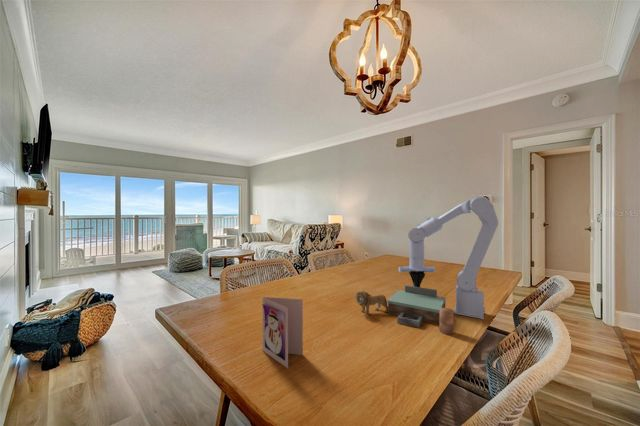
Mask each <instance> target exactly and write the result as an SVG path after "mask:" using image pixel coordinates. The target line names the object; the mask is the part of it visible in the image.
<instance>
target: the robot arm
mask: <svg viewBox="0 0 640 426" xmlns="http://www.w3.org/2000/svg"><path fill="white" fill-rule="evenodd" d="M471 212H473V213H474V214H475V215H476V216H477V217H478V219H479V221H481V227H480V229H479V231H478V234H477V236H476V237H475V241H474V244H473V245H472V248H471V251H470V253H469V256H468V257H467V260H466V263H465V264H464V267H463V269H461V270H460V271H459V272H458V274H457V278H456V286H455V306H454V310H453V311H454V314H455V315H459V316H460V315H461V316H465V317H470V318H476V319H481V320H484V316H485V315H484V313H486V308H485V305H484V303H485V302H484V301H485V294H484V293H485V292H484V291H481V290H479V289H478V287H477V277H478V274H479V271H480V267H481V266H482V264H483V260H484V258H485V256H486V254H487V251H488V250H489V247H490V244H491V241H493V240H492V239H493V238H494V235H495V233H496V232H497V231H496V230H497V229H498V225H499V220H498V216H497V212H496V210H495V207H494V204H493V203H492V202H491V200H490V199H489V198H487V197H485V196H481V195H479V196H478V195H477V196H474V197H473V198H471V199H468V200H466V201H464V202H462V203H460V204H458V205H456V206H455V207H453V208H451V209H450V210H448V211H447V212H445V213H443V214H442V215H440V216H439V217H436V216H431V217H430V216H429V217H427V218H426V220H425V221H424V222H422V223H419V224H417V225H416V227H413V228H411V229H410V230H409V232H408V235H407V236H408V239H409V264H408V265H407V266H405V265H404V266H398V273H408V274H409V276H410V279H411V281H412V284H413V285H412V286H415V287H421V284H422V282H423V280H424V278H425V276H426V273H436V267H435V266H425V242H424V241H425V239H426V238H428V237H430V236H432V235H433V234H436V233H437V232H439V231H441V230H442V229H443V225H444V224H446V223H448V222H450V221H451V220H453V219H455V218H457V217H459V216H461V215H463V214H465V215H466V214H471Z"/></svg>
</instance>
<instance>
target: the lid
mask: <svg viewBox="0 0 640 426" xmlns="http://www.w3.org/2000/svg"><path fill="white" fill-rule="evenodd" d="M386 300H387V304H388V303H390V304H396V305H401V306H406V307H411V308H416V309H421V310H426V311H432V312H437V313H440V308H442V307H443V305H444V302H445V303H446V297H445V296H440V295H438V289H434V288H427V287H421V286H420V287H415V286H414V285H404V290H402V289H401V290H400V289H398V290H397V291H396V292H395V293H394V294H392V295H391V296H390V297H389V298H388V299H386Z"/></svg>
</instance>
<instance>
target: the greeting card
mask: <svg viewBox="0 0 640 426" xmlns="http://www.w3.org/2000/svg"><path fill="white" fill-rule="evenodd" d="M303 301H304V300H303V298H302V299H301V298H286V297H285V298H284V297H269V296H262V303H261V304H262V352H264V353H265V354H267V355H268V356H270V357H271V358H272V359H273V360H275V361H277V362H278V363H279V364H281V365H282V366H284V367H285V368H286V369H289V354H292V355H299V356H303V355H304V354H303V351H304V349H303V348H304V347H303V346H304V343H303V342H304V339H303V338H304V335H303V331H304V329H303V325H304V324H303V323H304V322H303V320H304V318H303V317H304V316H303V315H304V314H303V309H304V306H303Z"/></svg>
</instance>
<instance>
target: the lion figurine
mask: <svg viewBox="0 0 640 426" xmlns="http://www.w3.org/2000/svg"><path fill="white" fill-rule="evenodd" d="M387 300H388V299H387V298H386V296H385V295H384V294H382V293H376V294H372V295H371V294H369V293H368V292H365V291H364V290H363V289H362V290H360V289H359V290H357V291H356V292H355V301H356V303H357V304H359V306H360V307H362V310H361V311H360V312H361V313H364V312H365V315H366V316H367V315H369V314H370V306H375V305H376V304H377V307H375V310H376V311H379V310H380V308H381V307H382V306H383V308H385V310H384V312H385V313H388V303H387Z"/></svg>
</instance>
